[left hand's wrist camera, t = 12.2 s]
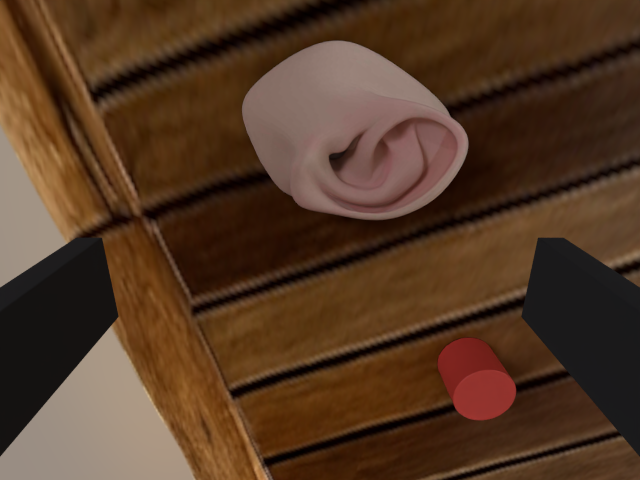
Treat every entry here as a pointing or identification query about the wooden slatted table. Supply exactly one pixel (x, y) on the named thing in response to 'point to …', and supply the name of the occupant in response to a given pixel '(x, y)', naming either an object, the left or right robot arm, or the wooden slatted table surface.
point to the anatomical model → (352, 133)
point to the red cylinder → (475, 379)
